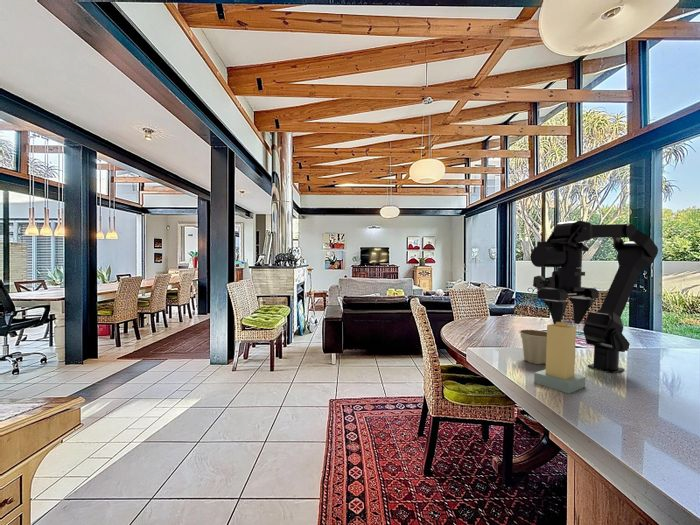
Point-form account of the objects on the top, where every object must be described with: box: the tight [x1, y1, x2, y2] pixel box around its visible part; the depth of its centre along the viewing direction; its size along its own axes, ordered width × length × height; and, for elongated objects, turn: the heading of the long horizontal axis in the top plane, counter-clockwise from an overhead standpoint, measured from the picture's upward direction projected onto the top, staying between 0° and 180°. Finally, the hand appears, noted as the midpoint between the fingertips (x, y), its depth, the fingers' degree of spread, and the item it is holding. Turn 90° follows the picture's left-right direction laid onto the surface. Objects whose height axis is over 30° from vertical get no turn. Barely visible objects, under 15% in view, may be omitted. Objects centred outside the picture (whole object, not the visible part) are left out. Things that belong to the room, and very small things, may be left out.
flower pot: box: [518, 329, 547, 365], centre depth 104 cm, size 9×9×9 cm
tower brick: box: [545, 321, 577, 379], centre depth 85 cm, size 4×4×13 cm
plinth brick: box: [533, 368, 586, 395], centre depth 85 cm, size 8×8×2 cm
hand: (567, 325), depth 94 cm, fingers open, 9 cm apart
